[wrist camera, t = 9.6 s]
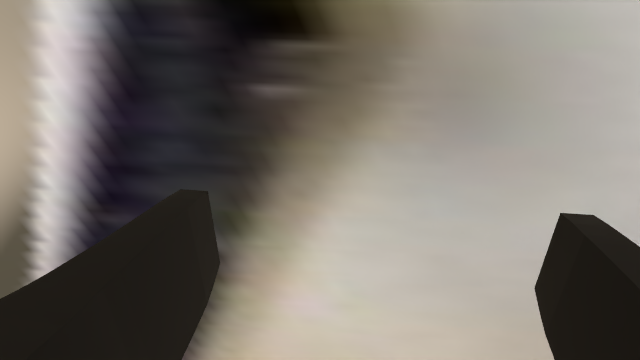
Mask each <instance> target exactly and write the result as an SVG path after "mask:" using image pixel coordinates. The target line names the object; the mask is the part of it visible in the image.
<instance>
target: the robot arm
mask: <svg viewBox="0 0 640 360" xmlns="http://www.w3.org/2000/svg"><path fill="white" fill-rule="evenodd" d="M219 265H220V259H219V254H218V248H217V242H216V236H215V230H214V225H213V219H212V213H211V207H210V201H209V196H208V191H196V190H179V191H177V192H175V193H174V194H172V195H170V196H169V197H167V198H166V199H164V200H162V201H161V202H159V203H158V204H156V205H155V206H153V207H152V208H150V209H149V210H147V211H146V212H144V213H143V214H141V215H140V216H138V217H137V218H135V219H134V220H132V221H131V222H129V223H128V224H126V225H125V226H123V227H122V228H120V229H119V230H117V231H115V232H114V233H112V234H111V235H109V236H108V237H106V238H105V239H103V240H102V241H100V242H99V243H97V244H95V245H94V246H92V247H91V248H89V249H87V250H86V251H84V252H82V253H81V254H79V255H77V256H76V257H74V258H72V259H71V260H69V261H67V262H66V263H64V264H62V265H61V266H59V267H57V268H56V269H54V270H53V271H51V272H49V273H48V274H46V275H44V276H42V277H40V278H39V279H37V280H35V281H33V282H31V283H30V284H28V285H26V286H24V287H22V288H20V289H19V290H17V291H15V292H13V293H11V294H9V295H7V296H5V297H3V298H1V299H0V360H182V358H183V355H184V353H185V351H186V349H187V347H188V345H189V343H190V341H191V338H192V336H193V334H194V332H195V330H196V328H197V325H198V323H199V321H200V319H201V317H202V315H203V312H204V310H205V308H206V306H207V303H208V300H209V297H210V294H211V291H212V288H213V285H214V282H215V278H216V275H217V272H218V268H219ZM535 292H536V297H537V302H538V306H539V311H540V315H541V319H542V323H543V327H544V331H545V335H546V337H547V340H548V343H549V346H550V348H551V351H552V353H553V356H554V359H555V360H640V247H639V246H638V245H636V244H635V243H633V242H632V241H631V240H629V239H628V238H627V237H625V236H624V235H622V234H621V233H620V232H618V231H617V230H615V229H614V228H612V227H611V226H610V225H608V224H607V223H605V222H604V221H602V220H600V219H599V218H597V217H596V216H594V215H583V214H567V213H560V216H559V219H558V222H557V224H556V227H555V230H554V233H553V236H552V239H551V242H550V245H549V248H548V251H547V253H546V256H545V259H544V262H543V265H542V268H541V271H540V274H539V277H538V280H537V282H536V285H535Z"/></svg>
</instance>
